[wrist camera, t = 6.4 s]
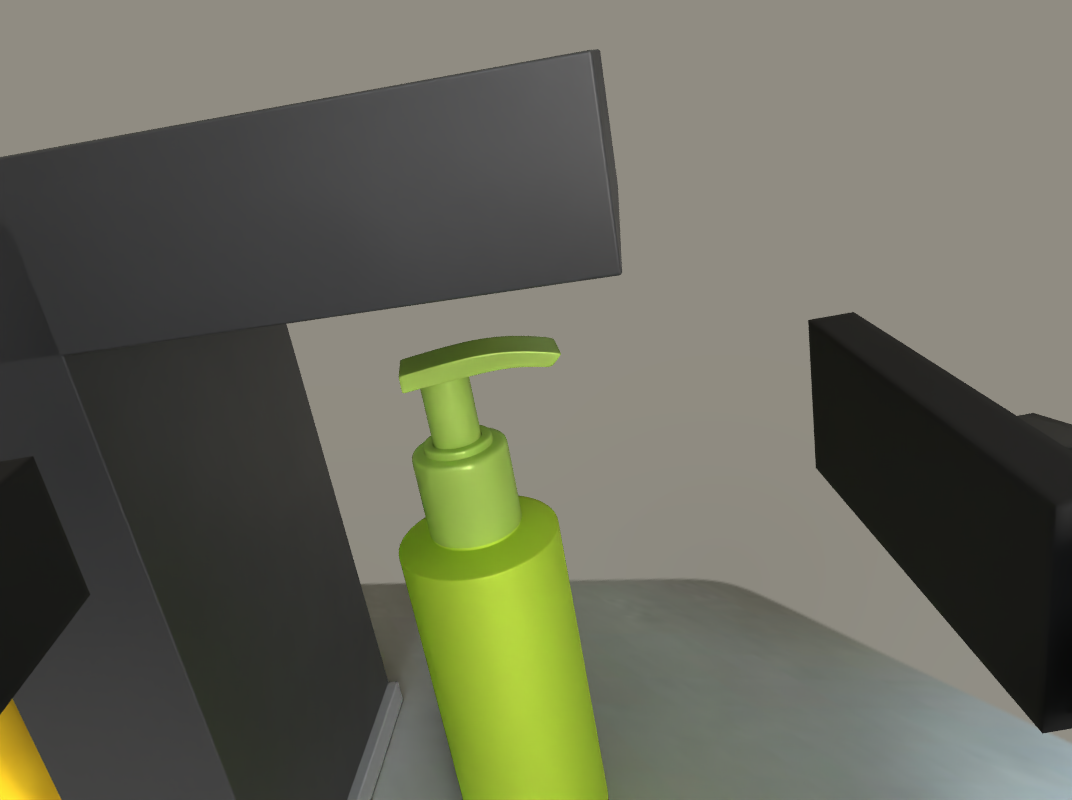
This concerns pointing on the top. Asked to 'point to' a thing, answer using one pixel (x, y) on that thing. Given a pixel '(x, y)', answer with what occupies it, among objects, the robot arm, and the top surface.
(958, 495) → the robot arm
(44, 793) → the banana peel
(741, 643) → the top surface
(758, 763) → the top surface
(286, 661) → the coffee maker
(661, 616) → the top surface
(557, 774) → the soap dispenser
